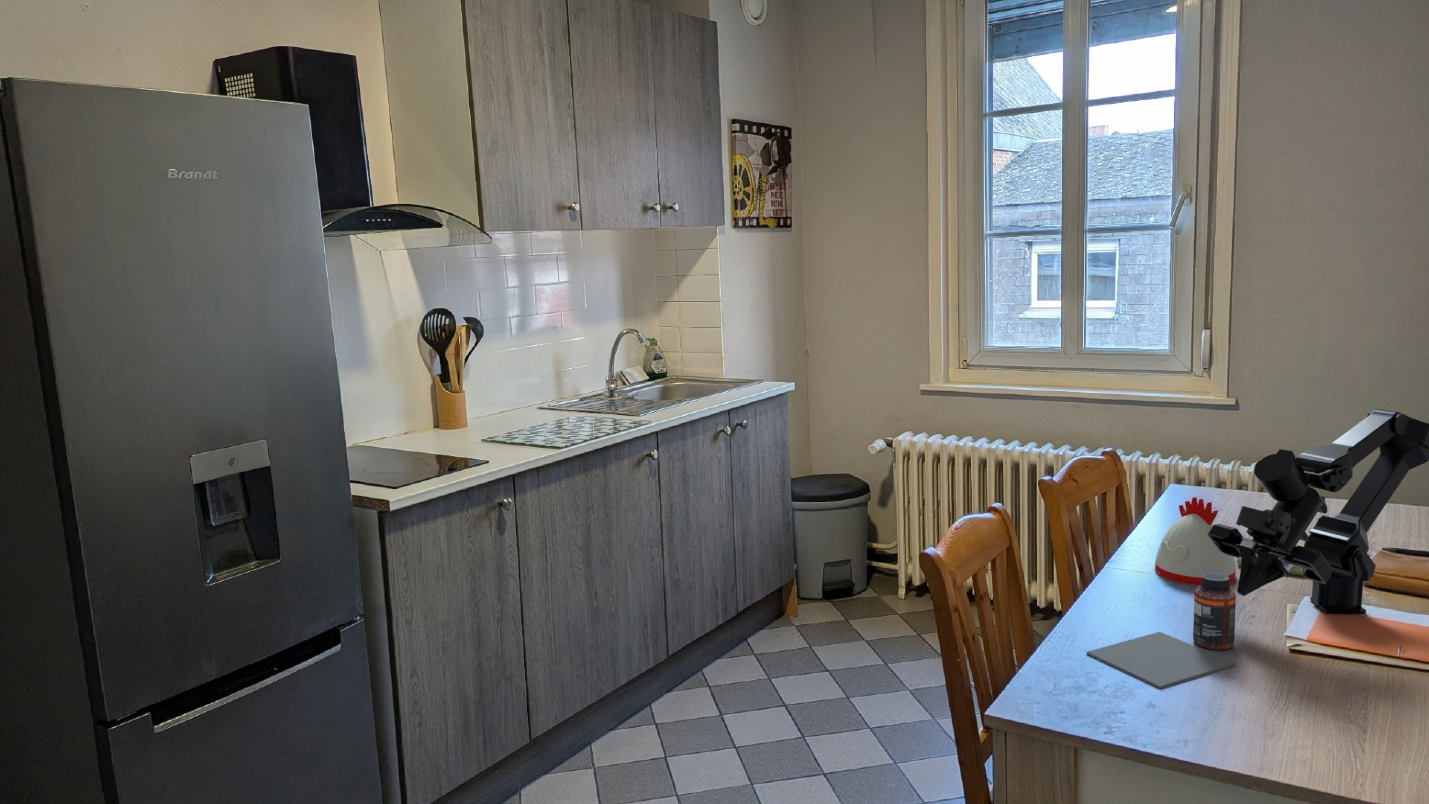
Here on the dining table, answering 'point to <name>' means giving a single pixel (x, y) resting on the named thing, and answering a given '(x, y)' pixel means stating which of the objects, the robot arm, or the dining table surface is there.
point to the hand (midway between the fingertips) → (1240, 593)
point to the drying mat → (1160, 659)
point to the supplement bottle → (1214, 612)
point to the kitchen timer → (1192, 547)
